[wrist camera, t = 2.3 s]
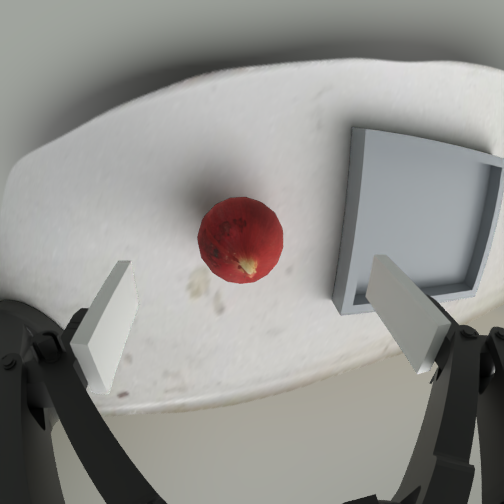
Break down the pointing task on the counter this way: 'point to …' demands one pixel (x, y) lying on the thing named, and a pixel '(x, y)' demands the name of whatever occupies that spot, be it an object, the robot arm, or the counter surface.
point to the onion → (240, 240)
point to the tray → (417, 215)
